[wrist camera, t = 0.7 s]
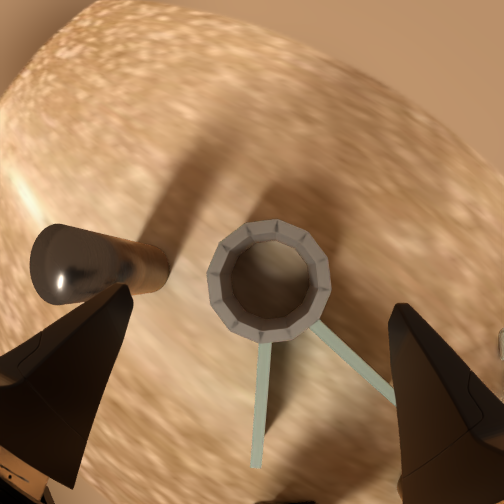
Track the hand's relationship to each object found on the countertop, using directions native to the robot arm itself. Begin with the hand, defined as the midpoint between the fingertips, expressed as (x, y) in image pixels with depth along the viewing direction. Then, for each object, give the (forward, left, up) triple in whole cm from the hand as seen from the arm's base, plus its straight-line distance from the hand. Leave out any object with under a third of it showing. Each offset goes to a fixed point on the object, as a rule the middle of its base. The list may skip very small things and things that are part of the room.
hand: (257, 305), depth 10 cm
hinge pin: (+2, +10, -14) cm, 17 cm away
